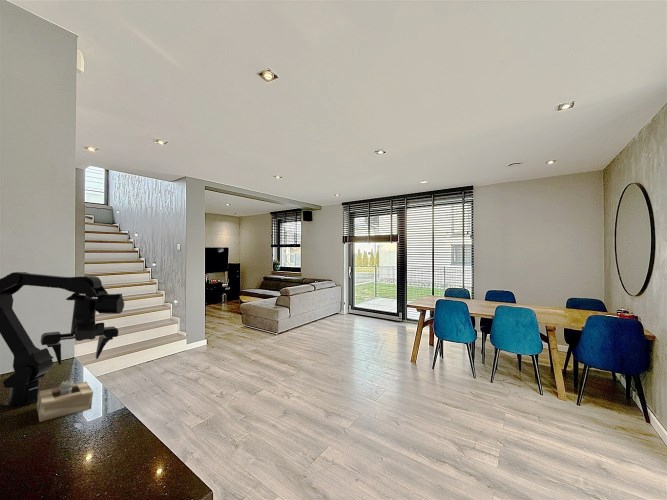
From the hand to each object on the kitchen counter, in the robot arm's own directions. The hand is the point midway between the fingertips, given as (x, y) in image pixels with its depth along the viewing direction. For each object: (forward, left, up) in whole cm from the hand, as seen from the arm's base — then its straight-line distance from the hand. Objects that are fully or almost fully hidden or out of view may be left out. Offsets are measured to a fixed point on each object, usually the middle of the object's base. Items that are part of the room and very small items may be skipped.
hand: (78, 361), depth 92 cm
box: (+3, -6, -12) cm, 14 cm away
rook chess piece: (+3, -6, -12) cm, 14 cm away
